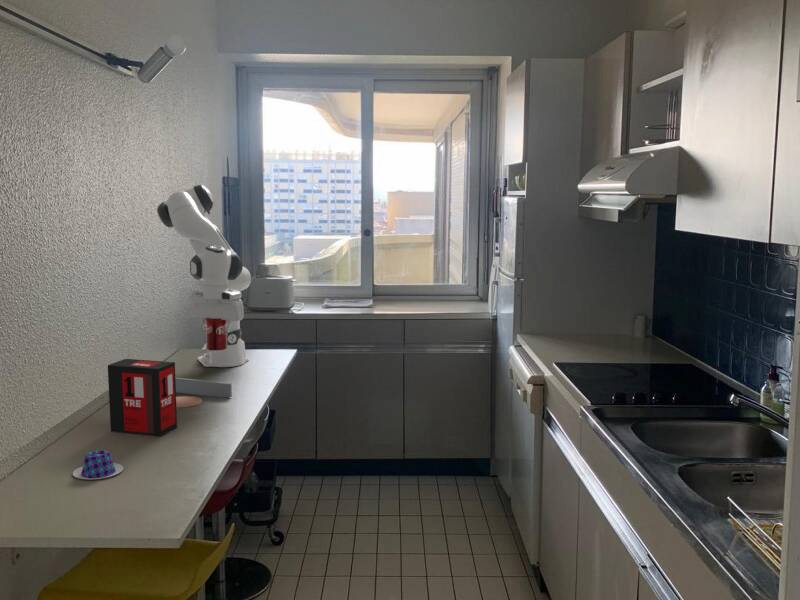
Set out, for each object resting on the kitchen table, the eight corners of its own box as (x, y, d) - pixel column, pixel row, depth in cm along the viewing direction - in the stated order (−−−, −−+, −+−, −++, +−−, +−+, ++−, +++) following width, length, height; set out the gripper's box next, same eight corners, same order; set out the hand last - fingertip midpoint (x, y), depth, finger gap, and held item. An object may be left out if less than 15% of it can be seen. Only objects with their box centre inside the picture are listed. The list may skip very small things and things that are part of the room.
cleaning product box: (110, 431, 237) (107, 365, 234) (128, 423, 246) (125, 358, 243) (160, 436, 233) (158, 368, 230) (177, 427, 241) (174, 362, 238)
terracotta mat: (155, 401, 270) (155, 400, 270) (193, 395, 278) (193, 394, 278) (169, 410, 260) (169, 409, 260) (208, 403, 267) (208, 402, 267)
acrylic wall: (170, 391, 282) (169, 377, 282) (172, 390, 283) (171, 377, 282) (230, 398, 274) (229, 383, 273) (231, 397, 275) (231, 383, 274)
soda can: (229, 348, 290) (229, 315, 288) (224, 352, 283) (223, 318, 281) (209, 347, 291) (209, 314, 289) (203, 351, 283) (203, 318, 282)
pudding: (107, 462, 213) (106, 442, 212) (132, 472, 205) (131, 452, 204) (63, 474, 204) (62, 454, 203) (88, 486, 196) (87, 465, 195)
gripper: (185, 291, 284) (186, 330, 286) (236, 295, 277) (237, 335, 280) (195, 289, 290) (196, 327, 292) (245, 293, 283) (246, 332, 285)
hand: (216, 331), depth 286 cm, fingers closed on soda can, 7 cm apart
